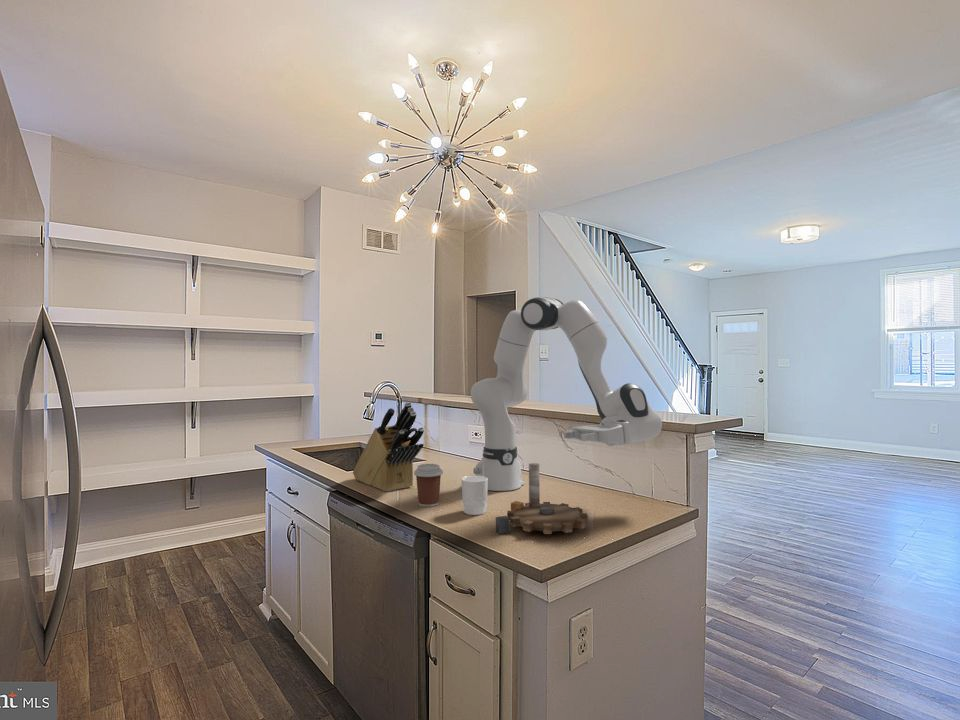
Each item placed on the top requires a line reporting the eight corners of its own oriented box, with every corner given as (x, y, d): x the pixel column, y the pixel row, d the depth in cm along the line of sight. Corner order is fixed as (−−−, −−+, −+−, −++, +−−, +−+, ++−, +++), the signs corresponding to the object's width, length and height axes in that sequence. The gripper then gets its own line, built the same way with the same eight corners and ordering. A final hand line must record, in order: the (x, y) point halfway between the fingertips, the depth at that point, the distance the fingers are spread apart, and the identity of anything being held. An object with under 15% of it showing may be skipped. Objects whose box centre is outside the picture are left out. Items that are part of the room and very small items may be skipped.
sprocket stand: (490, 528, 136) (490, 514, 136) (552, 519, 144) (551, 505, 144) (504, 538, 129) (503, 522, 129) (567, 528, 136) (567, 513, 136)
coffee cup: (409, 502, 162) (408, 465, 162) (434, 498, 167) (433, 461, 167) (422, 509, 154) (422, 470, 154) (448, 504, 160) (448, 466, 160)
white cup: (458, 509, 154) (458, 476, 154) (482, 506, 157) (482, 474, 157) (466, 517, 147) (466, 482, 147) (492, 514, 149) (491, 480, 149)
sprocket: (494, 514, 144) (494, 465, 144) (559, 505, 153) (559, 458, 153) (531, 538, 124) (531, 481, 124) (604, 526, 133) (603, 473, 133)
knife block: (398, 498, 167) (398, 404, 167) (352, 479, 194) (351, 398, 194) (427, 492, 174) (426, 402, 174) (378, 475, 201) (378, 397, 201)
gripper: (593, 419, 164) (555, 424, 160) (631, 422, 145) (589, 427, 140) (596, 438, 164) (557, 444, 159) (634, 444, 145) (591, 450, 140)
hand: (572, 436), depth 150 cm, fingers open, 8 cm apart
